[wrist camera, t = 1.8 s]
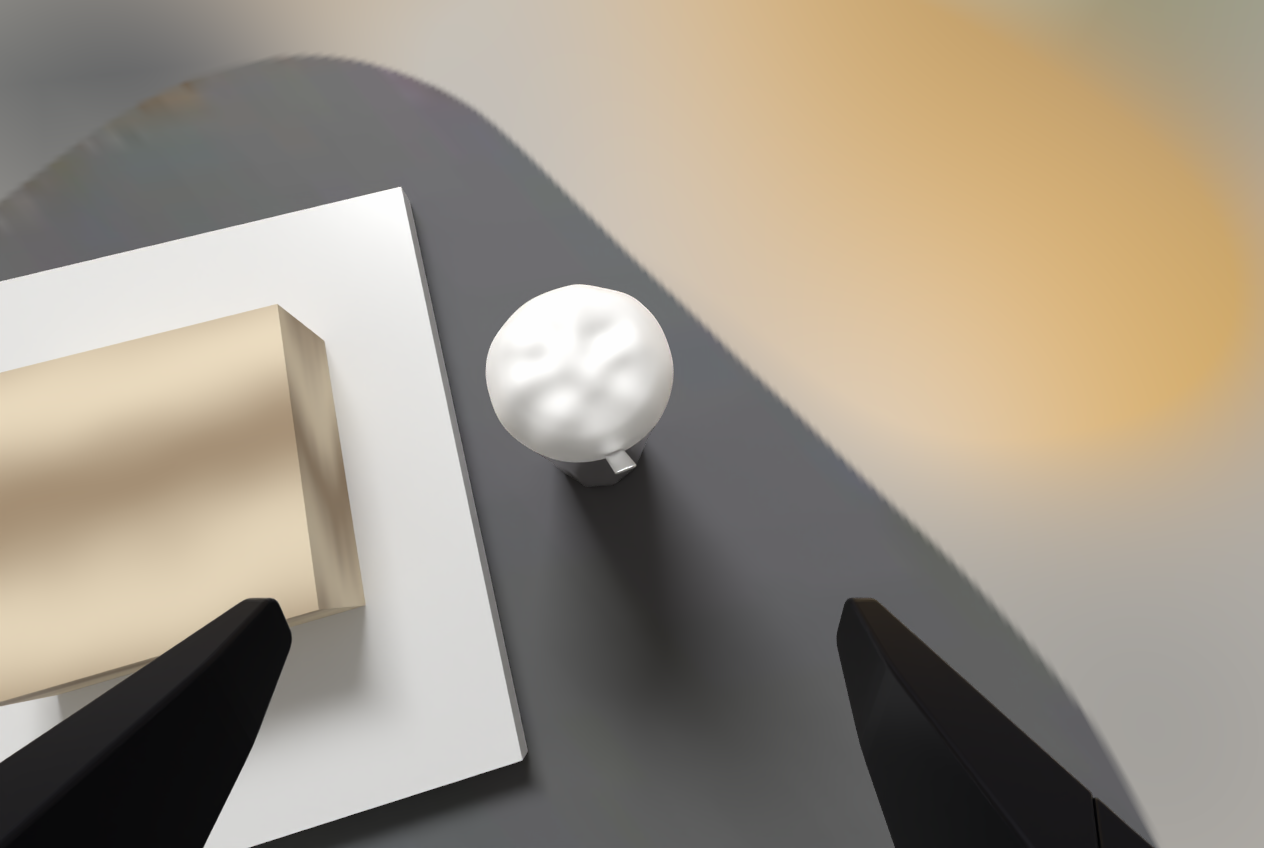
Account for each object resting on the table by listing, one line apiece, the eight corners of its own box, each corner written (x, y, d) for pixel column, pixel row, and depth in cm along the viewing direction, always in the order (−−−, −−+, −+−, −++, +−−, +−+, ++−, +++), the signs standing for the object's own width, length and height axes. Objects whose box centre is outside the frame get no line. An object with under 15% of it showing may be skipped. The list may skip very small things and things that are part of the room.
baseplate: (527, 751, 19) (522, 760, 18) (-42, 931, 18) (-81, 952, 17) (409, 202, 25) (400, 186, 24) (-29, 307, 23) (-58, 295, 22)
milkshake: (569, 544, 21) (516, 513, 11) (522, 413, 22) (438, 282, 12) (684, 499, 21) (729, 430, 12) (632, 372, 23) (633, 216, 13)
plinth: (365, 605, 19) (318, 609, 16) (57, 695, 18) (-50, 716, 16) (324, 340, 22) (277, 303, 19) (52, 410, 21) (-41, 382, 18)
